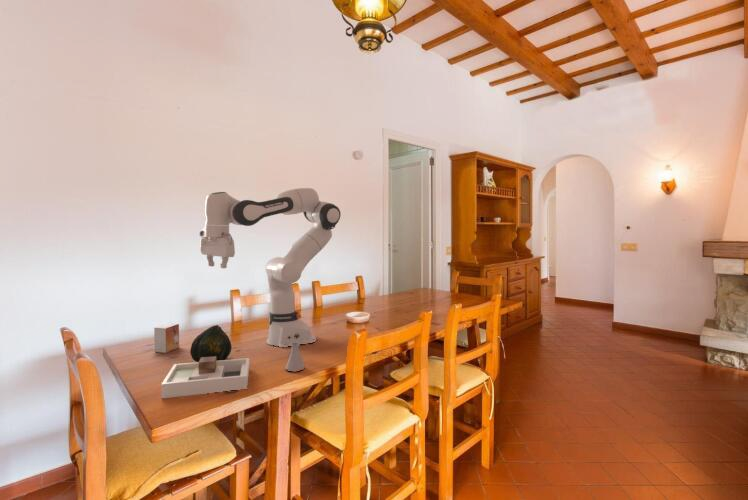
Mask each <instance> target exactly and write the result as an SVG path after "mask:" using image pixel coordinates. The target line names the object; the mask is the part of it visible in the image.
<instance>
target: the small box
mask: <svg viewBox="0 0 748 500" xmlns="http://www.w3.org/2000/svg"><path fill="white" fill-rule="evenodd" d="M153 329H154V330H153V331H154V332H153V333H154V338H153V339H154V352H155V353H163V354H166V353H168V352H171V351H174V350H176V349H178V348H180V323H171V322H168V323H165V324H162V325H159V326H156V327H154V328H153Z"/></svg>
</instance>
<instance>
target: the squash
mask: <svg viewBox="0 0 748 500" xmlns="http://www.w3.org/2000/svg"><path fill="white" fill-rule="evenodd" d="M189 353H190V355H191V359H192V360H193V361H194V362H199V361H200V359H201V357H213V356H216V361H219V360H227V359H228V357H230V354H231V353H232V342H231V340H230V337H229V336H228V335H227V333H226V332H225V331H224V330H223V329H222V328H221V326H219V325H218V324H216V325H212V326H210V327H208V328H207V329H205V330H204V331H202V332H201V333H200V334H198V335H197V336H196V337H195V338H194V340H193V341H192V343H191V346H190V350H189Z"/></svg>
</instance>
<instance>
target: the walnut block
mask: <svg viewBox="0 0 748 500" xmlns="http://www.w3.org/2000/svg"><path fill="white" fill-rule="evenodd" d="M215 370H216V356H213V357H201V359H200V361H199V374H205V373H215Z"/></svg>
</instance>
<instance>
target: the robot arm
mask: <svg viewBox="0 0 748 500" xmlns="http://www.w3.org/2000/svg"><path fill="white" fill-rule="evenodd" d="M319 197H320V196H319V195H318V192H317V191H316V190H315V189H314V188H311V187H301V188H294V189H290V190H289V189H288V190H286V191H282V192H281V193H279V194H278V195H277V197H276V198H273V199H268V200H264V201H254V200H251V199H244V200H238V199H237V198H234V197H233V196H231V195H230V194H228V192H226V191H218V192H211V193H209V194H208V195H206V198H205V205H204V207H205V208H204V213H205V217H206V218H205V219H206V220H205V223H204V225H205V226H204V228H203V229H202V230H200V231H199V237H200V239H199V241H200V242H199V244H200V245H199V247H200V252H201V255H205V256H206V259H207V262H208V267H215V261H214V257H219V258H220V257H221V260H222V261H221V263H220V268H221V269H227V267H228V265H227V264H228V262H229V258H233V257H235V254H236V252H235V251H236V250H235V242H234V241H235V240H234V239H233V237H232V235H231V233H230V224H233V225H235V226H245V227H248V226H249V227H251V226H254V225H255V224H257V223H259V222H260V221H261V220H262V219H264V218H267V217H271V216H275V215H279V214H280V215H281V214H282V215H287V216H289V215H298V214H302V213H303V216H304V218H305V219H306V220H307V221H308V222H310V223H312V225H311V228H309V230H307V231H306V232H305V233H303V235H302V236H300V238H298V239H297V240H296V241H295V242H294V243H293V244H292V246H291V248H290V250H289V251H288V252H287V254H286V255H284V257H280V256H278V257H277V256H276V257H273V258H271V259H269V260H268V261H267V262H266V265H265V272H266V275H267V284H268V288H269V296H270V297H269V301H270V303H269V307H270V308H269V309H270V310H269V314H268V324H269V328H268V329H269V330H268V335H267V339H266V343H267V344H268V345H270V346H273V345H274V347H278V346H279V348H282V347H284V348H289V347H288V346H291V343H293V342H298V343H300V344H306V343H312V342H315V341H316V342H317V337H316V336H315V335H314V334H312V331H311V328H310V326H309V325H308V324H307V323H306V322H305V321H303V320H301V319H300V318H301V316H302V315H301V313H300V312H299V311H298V310H296V307H295V306H296V295H295V291H294V289H293V283H297V282H298V281H299V280H300V278H301V275H302V273H303V271H304V270H305V268H306V267H307V266H308V264H309V263H310V262H311V261H312V260H313V259H314V258H315V257H316V256H317V255H318V254H319V253H320V252H321V251H322V250H323V249H324V248H325V247H326V246H327V245H328V243H329V242H330V240H331V239H332V236H333V231H332V230H333V229H335V228H336V225H338V223H339V221H340V219H341V213H342V212H341V210H340V208H339V206H337V205H335V204H334V203H329V202H326V201H320V200H319V199H320V198H319ZM316 342H315V343H316ZM306 345H307V344H306Z"/></svg>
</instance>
